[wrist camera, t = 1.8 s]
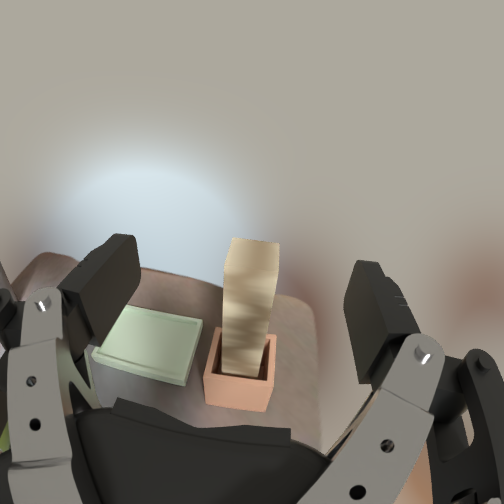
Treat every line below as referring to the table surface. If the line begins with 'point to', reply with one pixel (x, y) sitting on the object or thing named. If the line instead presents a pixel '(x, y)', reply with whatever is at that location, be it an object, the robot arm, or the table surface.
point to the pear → (5, 439)
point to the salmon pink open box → (239, 379)
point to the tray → (151, 344)
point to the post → (247, 304)
